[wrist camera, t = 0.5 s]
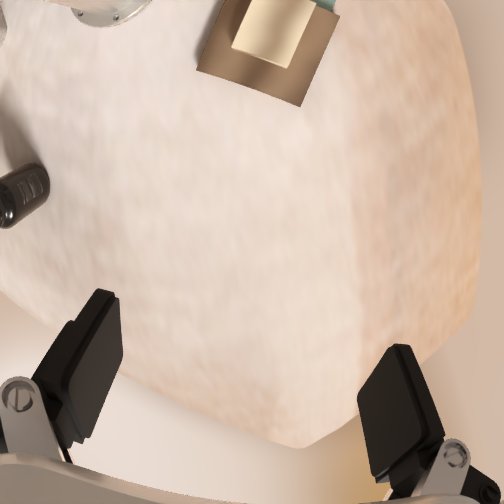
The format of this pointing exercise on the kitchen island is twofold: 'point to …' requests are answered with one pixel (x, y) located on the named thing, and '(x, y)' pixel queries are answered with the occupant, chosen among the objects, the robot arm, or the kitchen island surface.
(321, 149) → the kitchen island surface
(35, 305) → the kitchen island surface
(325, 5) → the rubber mat
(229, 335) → the kitchen island surface
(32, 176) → the supplement bottle
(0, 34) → the grey triangular vase
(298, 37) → the birch tile
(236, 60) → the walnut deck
